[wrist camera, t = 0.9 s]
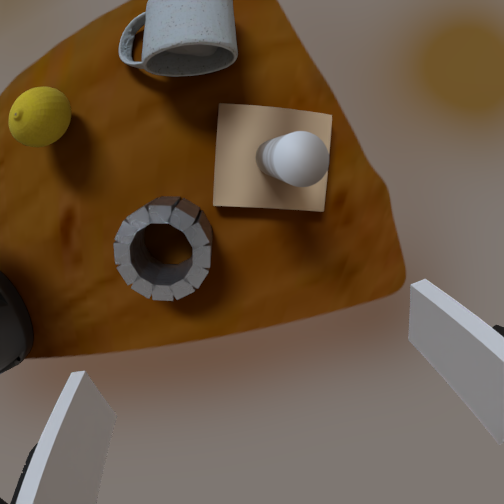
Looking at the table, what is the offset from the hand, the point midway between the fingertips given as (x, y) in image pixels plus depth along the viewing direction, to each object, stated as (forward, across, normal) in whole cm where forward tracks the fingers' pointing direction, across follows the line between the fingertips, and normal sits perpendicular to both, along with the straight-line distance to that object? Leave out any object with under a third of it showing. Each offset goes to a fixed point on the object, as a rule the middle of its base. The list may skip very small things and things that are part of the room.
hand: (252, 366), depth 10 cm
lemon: (+20, -13, +16) cm, 29 cm away
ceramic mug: (+19, 0, +19) cm, 27 cm away
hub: (+19, -6, +1) cm, 20 cm away
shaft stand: (+19, +6, +6) cm, 21 cm away
